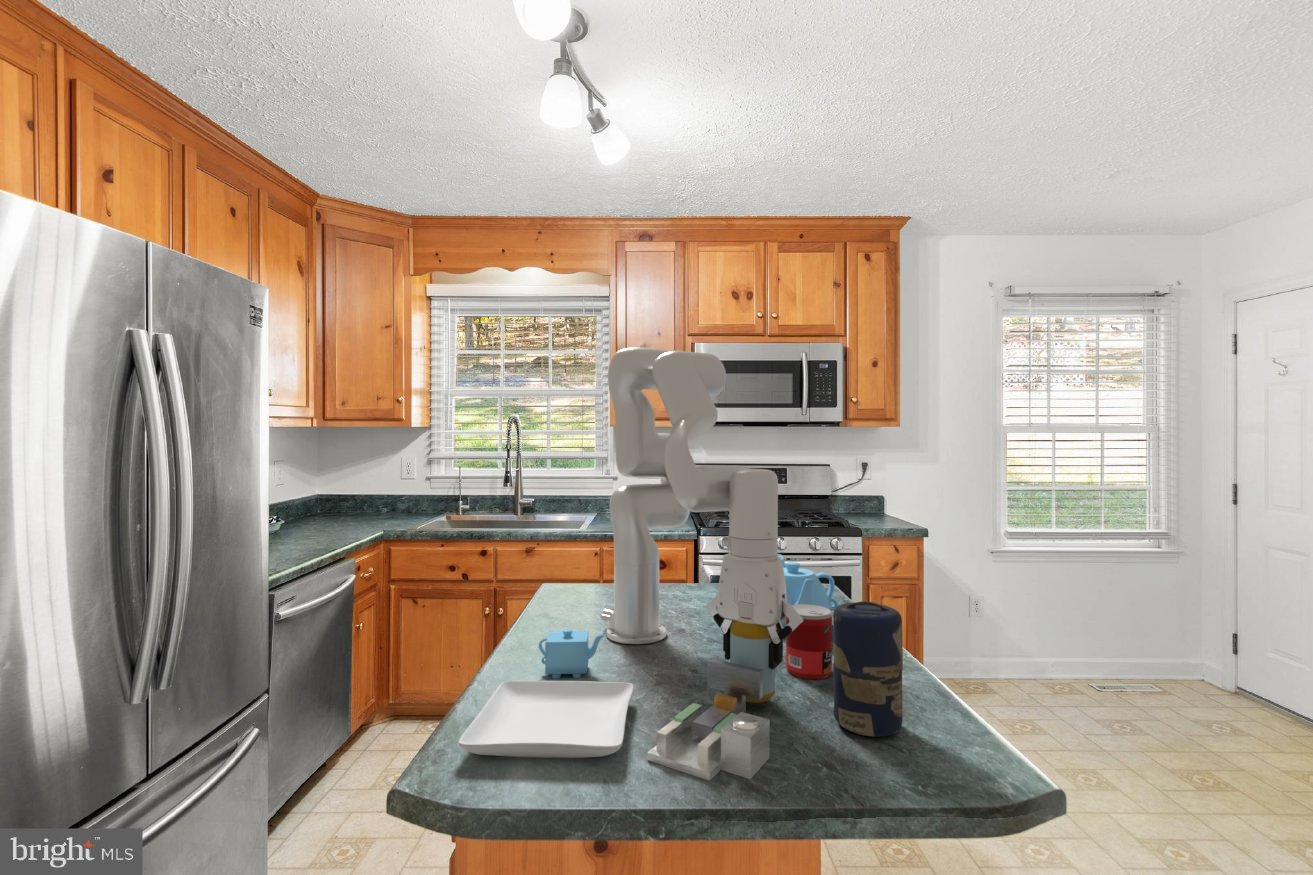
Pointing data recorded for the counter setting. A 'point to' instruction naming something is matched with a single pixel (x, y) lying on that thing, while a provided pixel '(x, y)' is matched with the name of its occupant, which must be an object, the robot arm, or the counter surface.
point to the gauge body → (713, 745)
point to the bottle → (752, 648)
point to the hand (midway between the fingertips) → (752, 660)
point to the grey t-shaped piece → (728, 693)
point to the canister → (868, 668)
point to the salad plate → (551, 720)
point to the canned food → (810, 643)
